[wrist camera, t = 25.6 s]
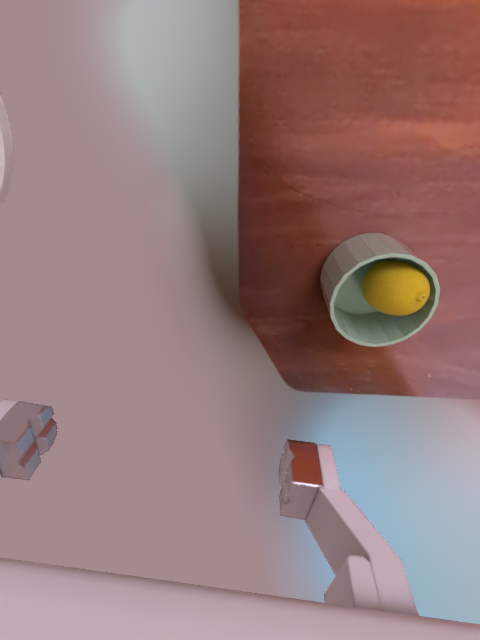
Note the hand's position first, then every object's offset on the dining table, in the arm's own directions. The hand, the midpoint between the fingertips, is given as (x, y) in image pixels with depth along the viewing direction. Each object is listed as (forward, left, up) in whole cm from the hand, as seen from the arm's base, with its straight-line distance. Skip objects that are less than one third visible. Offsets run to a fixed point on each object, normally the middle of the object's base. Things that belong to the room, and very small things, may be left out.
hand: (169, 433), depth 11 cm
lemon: (+16, -4, -28) cm, 33 cm away
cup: (+16, -4, -29) cm, 33 cm away
